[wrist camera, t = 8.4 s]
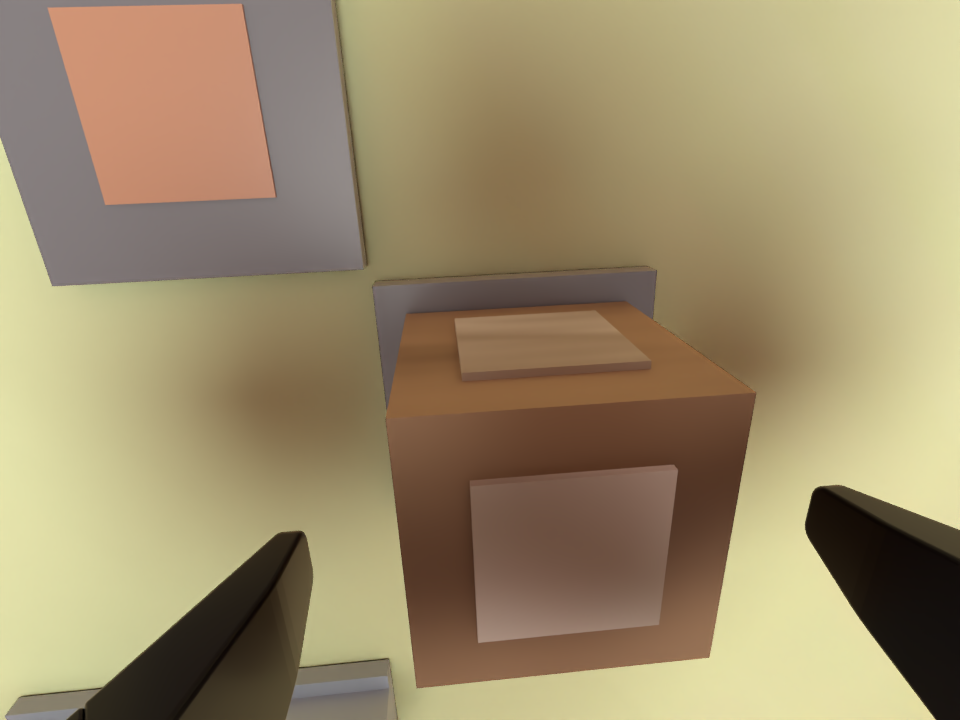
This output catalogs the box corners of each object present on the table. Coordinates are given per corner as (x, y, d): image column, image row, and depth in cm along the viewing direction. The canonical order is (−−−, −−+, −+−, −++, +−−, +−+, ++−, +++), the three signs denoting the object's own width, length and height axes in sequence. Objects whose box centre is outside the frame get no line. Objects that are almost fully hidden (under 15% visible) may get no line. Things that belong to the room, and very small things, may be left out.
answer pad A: (629, 492, 16) (637, 505, 15) (401, 511, 15) (400, 526, 15) (647, 266, 13) (658, 271, 12) (374, 281, 13) (371, 287, 12)
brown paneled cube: (613, 485, 15) (713, 664, 9) (423, 501, 14) (416, 696, 9) (626, 295, 13) (764, 387, 7) (405, 308, 12) (383, 414, 7)
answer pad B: (367, 264, 12) (363, 270, 12) (70, 280, 12) (49, 286, 11) (324, -91, 10) (317, -108, 9) (-54, -88, 10) (-88, -105, 9)
